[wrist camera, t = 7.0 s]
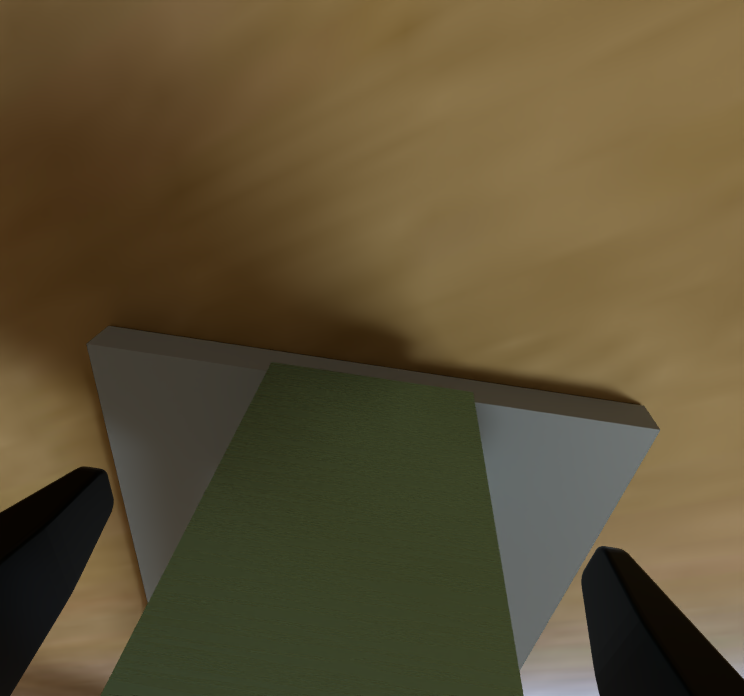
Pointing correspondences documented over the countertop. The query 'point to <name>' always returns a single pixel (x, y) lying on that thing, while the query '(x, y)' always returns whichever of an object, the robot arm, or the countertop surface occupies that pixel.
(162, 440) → the base board
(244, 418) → the green cube on rod
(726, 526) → the countertop surface
